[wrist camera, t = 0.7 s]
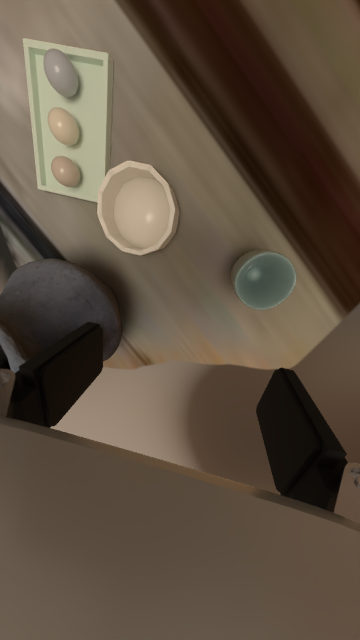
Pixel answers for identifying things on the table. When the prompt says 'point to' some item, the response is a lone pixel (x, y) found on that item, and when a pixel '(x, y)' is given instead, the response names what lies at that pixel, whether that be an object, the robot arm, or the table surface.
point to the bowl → (137, 208)
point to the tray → (86, 109)
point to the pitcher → (53, 309)
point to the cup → (263, 278)
